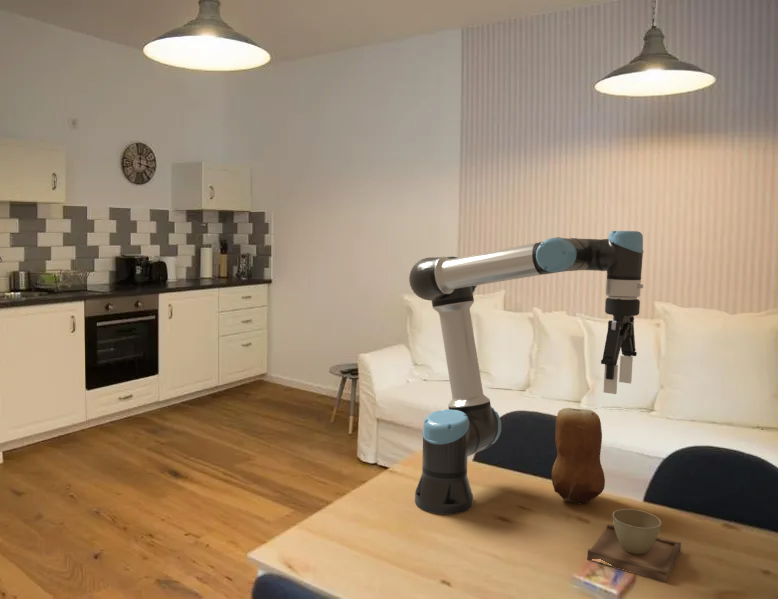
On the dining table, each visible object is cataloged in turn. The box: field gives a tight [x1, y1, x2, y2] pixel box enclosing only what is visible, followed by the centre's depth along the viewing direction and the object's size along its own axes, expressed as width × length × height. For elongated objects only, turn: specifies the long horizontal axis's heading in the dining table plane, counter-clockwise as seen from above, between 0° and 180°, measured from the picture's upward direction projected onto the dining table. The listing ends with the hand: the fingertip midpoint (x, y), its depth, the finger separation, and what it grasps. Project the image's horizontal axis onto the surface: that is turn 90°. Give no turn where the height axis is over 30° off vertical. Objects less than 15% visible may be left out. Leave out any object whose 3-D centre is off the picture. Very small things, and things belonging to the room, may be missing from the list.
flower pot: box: [612, 508, 662, 554], centre depth 142 cm, size 10×10×7 cm
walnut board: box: [586, 523, 682, 584], centre depth 142 cm, size 16×16×2 cm
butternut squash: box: [551, 407, 606, 505], centre depth 170 cm, size 14×13×25 cm
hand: (617, 387), depth 152 cm, fingers open, 13 cm apart
